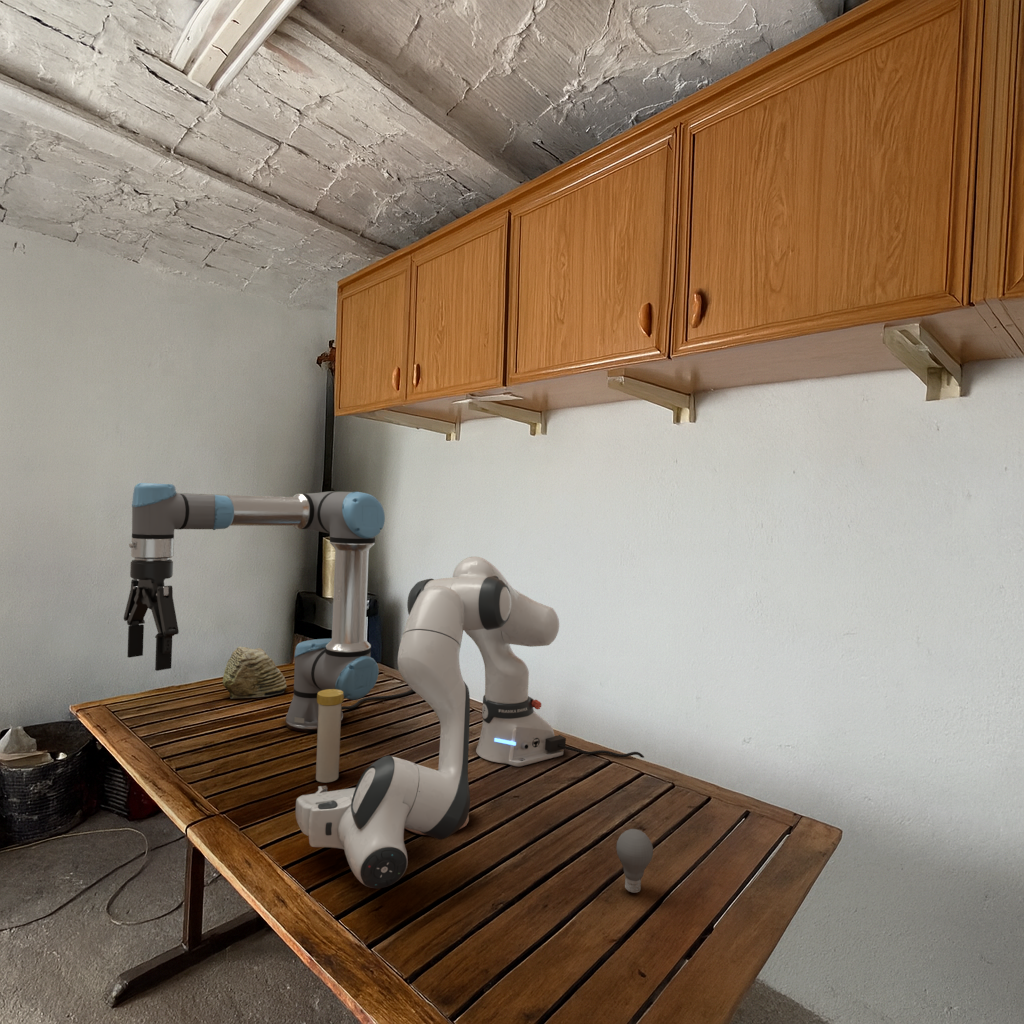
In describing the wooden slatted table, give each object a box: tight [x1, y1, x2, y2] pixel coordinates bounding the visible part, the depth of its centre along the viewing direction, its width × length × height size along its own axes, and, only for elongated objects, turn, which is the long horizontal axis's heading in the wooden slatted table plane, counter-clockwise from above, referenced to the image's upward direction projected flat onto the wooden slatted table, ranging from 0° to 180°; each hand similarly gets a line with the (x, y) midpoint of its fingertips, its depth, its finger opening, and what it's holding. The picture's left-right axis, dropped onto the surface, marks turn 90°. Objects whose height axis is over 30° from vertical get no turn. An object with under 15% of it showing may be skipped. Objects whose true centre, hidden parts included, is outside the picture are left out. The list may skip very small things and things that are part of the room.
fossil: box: [222, 646, 288, 699], centre depth 198 cm, size 9×18×15 cm, turn 132°
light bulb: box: [615, 828, 654, 894], centre depth 106 cm, size 6×6×10 cm
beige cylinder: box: [315, 702, 343, 784], centre depth 143 cm, size 5×5×19 cm
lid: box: [317, 689, 345, 706], centre depth 143 cm, size 6×6×2 cm
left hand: (148, 662), depth 129 cm, fingers open, 13 cm apart
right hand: (347, 786), depth 122 cm, fingers open, 8 cm apart
